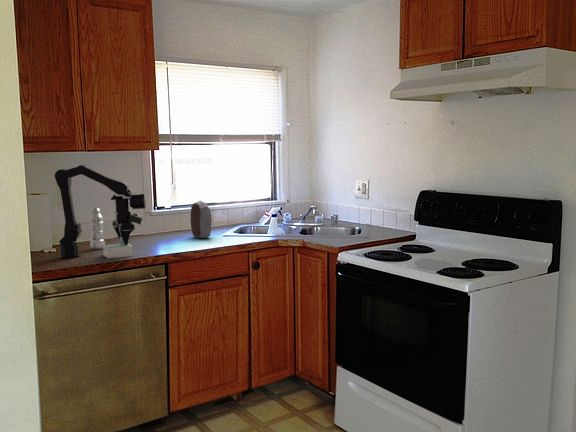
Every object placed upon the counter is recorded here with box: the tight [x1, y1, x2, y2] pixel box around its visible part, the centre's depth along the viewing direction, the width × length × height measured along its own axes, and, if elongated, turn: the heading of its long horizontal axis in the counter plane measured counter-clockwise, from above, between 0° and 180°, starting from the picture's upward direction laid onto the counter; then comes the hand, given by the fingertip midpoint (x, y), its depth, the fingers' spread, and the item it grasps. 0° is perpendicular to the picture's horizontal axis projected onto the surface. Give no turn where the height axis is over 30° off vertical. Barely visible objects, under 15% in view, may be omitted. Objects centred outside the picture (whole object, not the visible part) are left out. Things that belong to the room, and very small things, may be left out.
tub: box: [102, 243, 134, 260], centre depth 252 cm, size 11×9×5 cm
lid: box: [105, 237, 131, 248], centre depth 251 cm, size 9×7×4 cm
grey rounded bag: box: [190, 200, 213, 239], centre depth 298 cm, size 15×8×20 cm, turn 37°
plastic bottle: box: [88, 207, 106, 250], centre depth 268 cm, size 6×7×20 cm
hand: (124, 243), depth 253 cm, fingers open, 8 cm apart
